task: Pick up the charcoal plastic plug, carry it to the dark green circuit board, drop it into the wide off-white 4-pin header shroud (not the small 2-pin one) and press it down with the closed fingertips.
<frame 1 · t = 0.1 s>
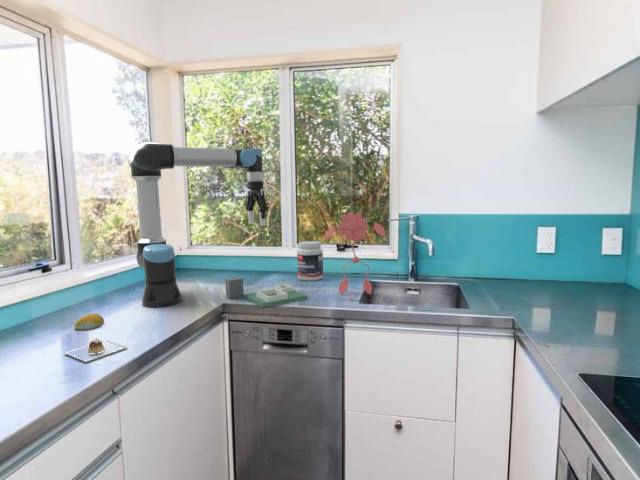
hand: (257, 224, 202), 28 cm above the worktop, tool pointing down, fingers open, 13 cm apart
plug: (235, 297, 173), on the worktop
pink flower sprig: (354, 296, 171), on the worktop
supplement tub: (310, 279, 206), on the worktop
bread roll: (90, 326, 141), on the worktop
board: (275, 298, 170), on the worktop
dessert: (96, 354, 117), on the worktop
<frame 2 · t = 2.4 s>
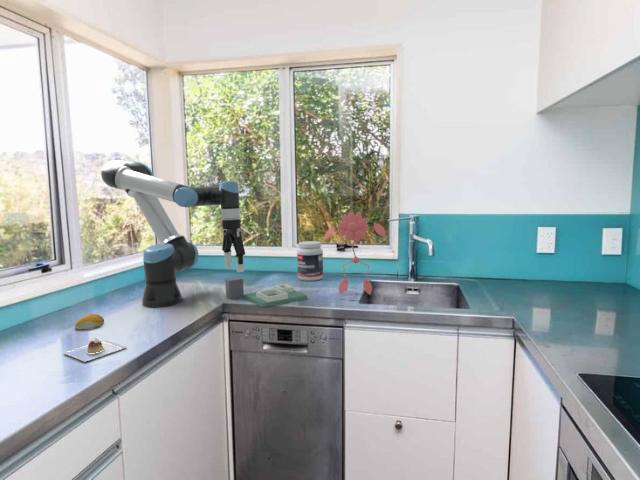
hand: (234, 269, 172), 12 cm above the worktop, tool pointing down, fingers open, 13 cm apart
nothing on the worktop moved.
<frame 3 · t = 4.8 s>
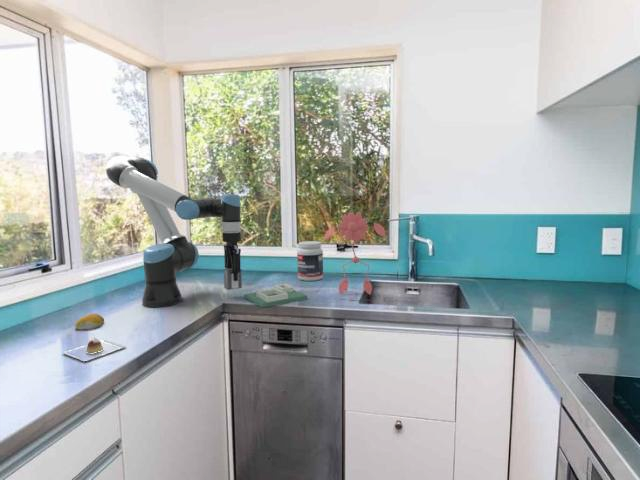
hand: (232, 286, 173), 5 cm above the worktop, tool pointing down, fingers closed on plug, 4 cm apart
plug: (232, 287, 173), point 4 cm above the worktop, touching gripper
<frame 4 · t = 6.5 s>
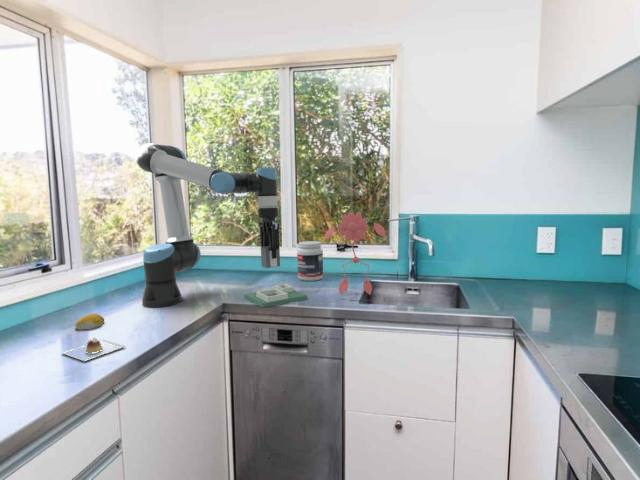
hand: (270, 265, 164), 15 cm above the worktop, tool pointing down, fingers closed on plug, 4 cm apart
plug: (270, 266, 164), point 14 cm above the worktop, touching gripper
everything else where it was.
when the fingers open (3 cm above the worktop, at t = 8.4 s): plug drops 1 cm, resting on board.
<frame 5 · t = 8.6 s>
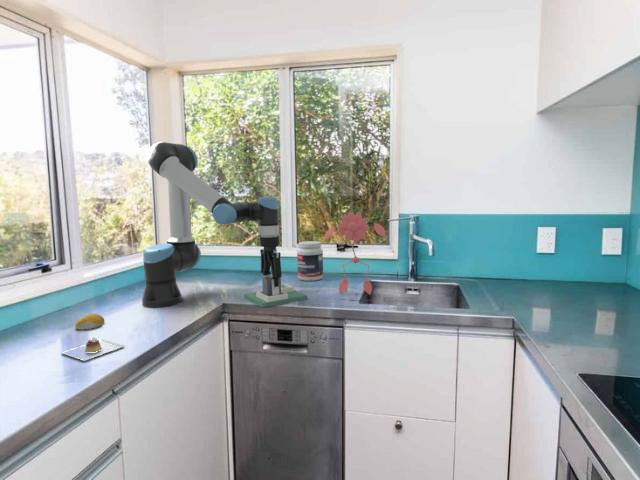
hand: (271, 292, 166), 3 cm above the worktop, tool pointing down, fingers open, 7 cm apart
plug: (272, 296, 166), point 2 cm above the worktop, touching board
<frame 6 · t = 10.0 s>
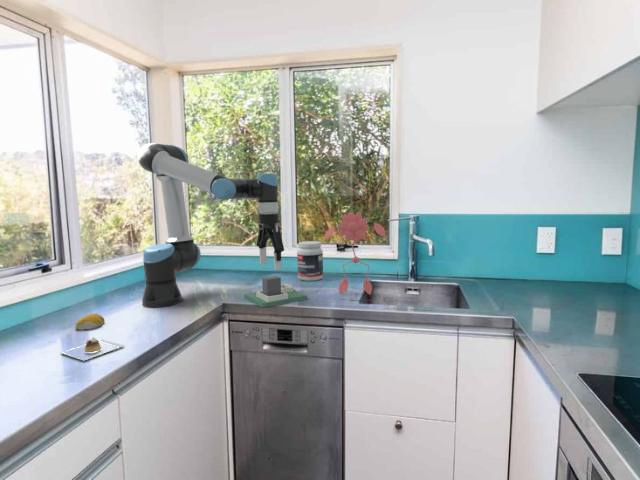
hand: (270, 266, 164), 14 cm above the worktop, tool pointing down, fingers open, 13 cm apart
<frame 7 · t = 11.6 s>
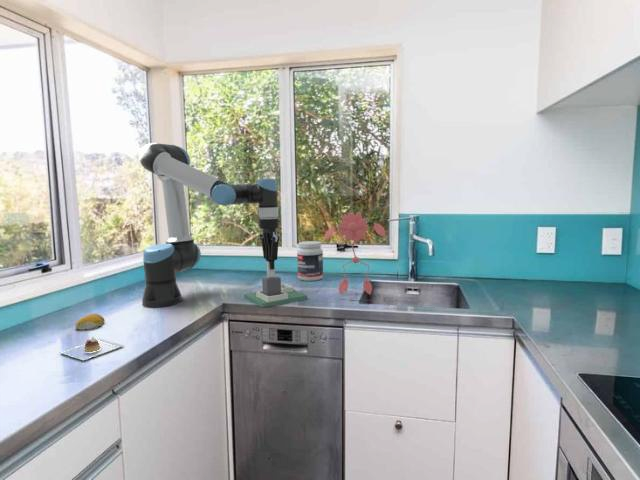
hand: (271, 276, 165), 10 cm above the worktop, tool pointing down, fingers closed
plug: (272, 296, 166), point 2 cm above the worktop, touching board, gripper
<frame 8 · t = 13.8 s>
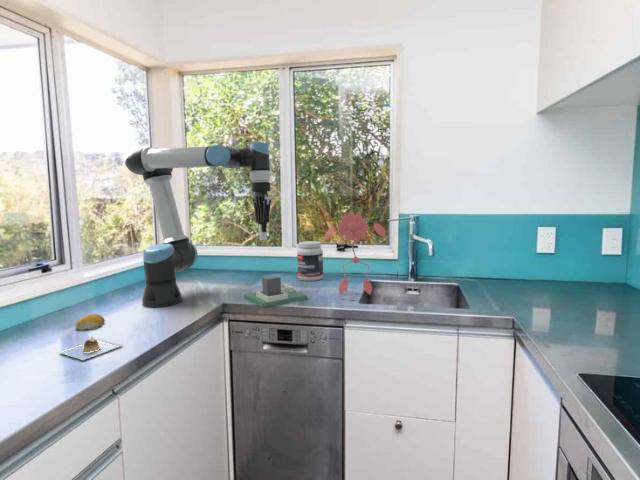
hand: (263, 239, 168), 24 cm above the worktop, tool pointing down, fingers closed
plug: (272, 296, 166), point 2 cm above the worktop, touching board
at the end: plug 0.1 cm from the target spot on the board, point 1.7 cm above the board's base; plug tilted 0°; the gripper is holding nothing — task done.
